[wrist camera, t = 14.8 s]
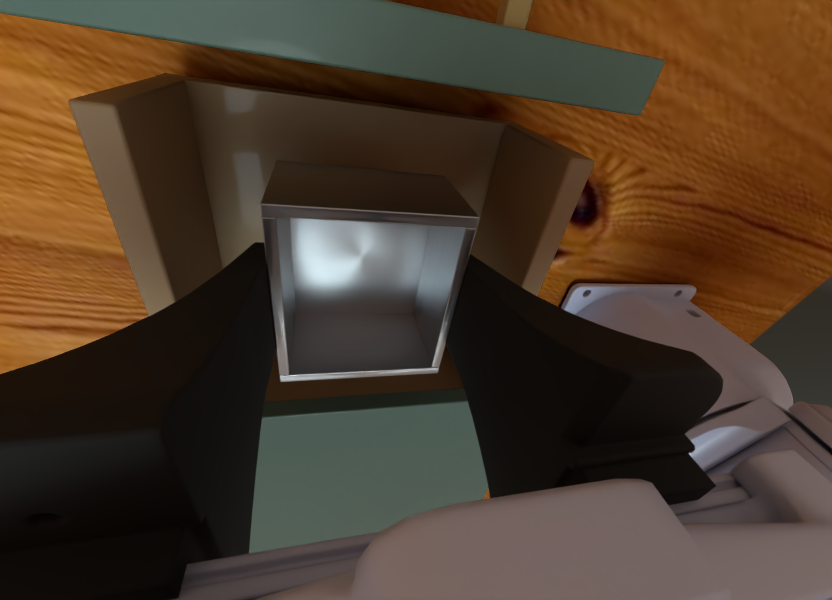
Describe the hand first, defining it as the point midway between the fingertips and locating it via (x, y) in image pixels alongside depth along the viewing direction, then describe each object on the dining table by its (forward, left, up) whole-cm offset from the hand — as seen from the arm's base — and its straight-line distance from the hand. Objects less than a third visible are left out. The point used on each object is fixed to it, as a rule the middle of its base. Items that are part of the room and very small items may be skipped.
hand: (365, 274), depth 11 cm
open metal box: (0, 0, -1) cm, 1 cm away
